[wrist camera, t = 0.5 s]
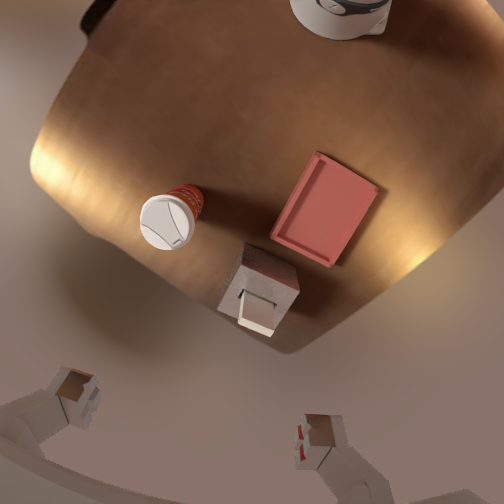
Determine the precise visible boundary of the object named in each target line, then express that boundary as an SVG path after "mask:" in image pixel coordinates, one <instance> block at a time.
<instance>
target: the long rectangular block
mask: <svg viewBox="0 0 504 504" xmlns="http://www.w3.org/2000/svg"><path fill="white" fill-rule="evenodd" d="M238 324H240V325H242V326H245V327H247V328H249V329H252V330H254V331H257V332H259V333H261V334H264V335H266V336H269V337H271V335H272V334H273V332H274V305H273V302H271V301H269V300H267V299H265V298H263V297H260V296H258V295H256V294H254V293H251V292H249V291H247V290H245V289H242V297H241V304H240V312H239V320H238Z"/></svg>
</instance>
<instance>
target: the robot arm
mask: <svg viewBox="0 0 504 504" xmlns="http://www.w3.org/2000/svg"><path fill="white" fill-rule="evenodd" d="M391 2H392V0H290V3H291V7H292V10H293V12H294V14H295V16H296V17H297V19H298V20H299V21H300V22H301V23H302V24H303V25H304V26H305V27H306V28H308V29H309V30H310V31H312V32H314V33H316V34H318V35H320V36H322V37H325V38H329V39H334V40H348V39H353V38H356V37H359V36H362V35H365V34H369V35H380V34H382V33H383V32H384V30H385V27H386V23H387V19H388V15H389V11H390V6H391ZM379 23H381V24H379ZM97 383H98V381H97V377H96V376H94V375H91V374H88V373H85V372H82V371H79V370H77V369H74V368H71V367H68V366H65V365H63V366H61V367H60V368H59V370H58V371H57V373H56V374H55V375H54V377H53V378H52V380H51V381H50V383H49V384H48V385H47V387H46V388H45V390H43V389H40V390H38V391H36V392H33V393H31V394H29V395H26V396H24V397H22V398H20V399H17V400H15V401H12V402H10V403H8V404H5V405H3V406H0V504H185V503H180V502H175V501H170V500H166V499H161V498H157V497H153V496H149V495H145V494H141V493H137V492H134V491H130V490H127V489H124V488H120V487H117V486H114V485H111V484H108V483H105V482H102V481H99V480H96V479H94V478H91V477H88V476H85V475H83V474H80V473H78V472H75V471H73V470H70V469H68V468H65V467H63V466H61V465H58V464H56V463H54V462H52V461H50V460H47V459H45V458H44V457H45V456H44V453H43V451H42V450H41V448H40V446H39V444H40V443H42V442H43V441H45V440H46V439H48V438H49V437H51V436H53V435H54V434H56V433H57V432H59V431H60V430H62V429H63V428H65V427H66V426H68V425H69V424H71V425H74V426H76V427H79V428H82V429H85V430H87V428H88V426H89V424H90V422H91V420H92V415H91V413H92V412H95V411H96V410H97V408H98V406H99V402H100V391H99V389H98V388H97V387H96V385H97ZM294 447H295V449H296V450H297V451H298V452H297V454H296V456H295V462H296V469H297V470H317V473H318V474H319V475H320V477H321V478H322V479H323V481H324V482H325V483H326V485H327V486H328V487H329V488H330V490H331V491H332V492H333V494H334V495H335V496H336V498H337V499H338V500H339V501H338V502H337V503H336V504H394V500H393V496H392V492H391V488H390V485H389V481H388V480H387V479H386V478H385V477H384V476H383V475H382V474H380V473H379V472H378V471H377V470H376V469H375V468H374V467H373V466H372V465H371V464H370V463H369V462H368V461H367V460H366V459H364V458H363V457H362V456H361V455H360V454H359V453H358V452H357V451H356V450H355V449H354V448H353V447H349V444H348V440H347V435H346V431H345V426H344V422H343V418H342V416H340V415H318V414H317V415H316V414H304V415H303V416H302V418H301V425H299V426H298V427H297V429H296V432H295V437H294ZM405 504H489V503H488V502H487V501H485V500H484V499H483V498H481V497H480V496H478V495H477V494H475V493H474V492H472V491H470V490H468V489H462V490H458V491H454V492H451V493H447V494H444V495H441V496H436V497H432V498H428V499H424V500H419V501H415V502H410V503H405Z"/></svg>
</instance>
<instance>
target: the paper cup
mask: <svg viewBox="0 0 504 504" xmlns="http://www.w3.org/2000/svg"><path fill="white" fill-rule="evenodd" d="M203 204H204V198H203V194H202V192H201V191H200V190H199V189H198V188H197V187H195V186H193V185H189V184H185V185H181V186H179V187H177V188H175V189H173V190H171V191H169V192H167V193H166V194H164V195H159V196H155V197H152V198H150V199H149V200H148V201H147V202H146V203H145V204H144V205H143V208H142V212H141V216H140V227H141V231H142V234H143V236H144V237H145V239H146V240H147V241H148V242H149V243H150V244H151V245H153V246H154V247H156V248H159V249H162V250H173V249H178V248H180V247H182V246H184V245H185V244H186V243H187V242H188V241H189V240H190V239H191V237H192V235H193V233H194V228H195V223H196V221H197V219H198V217H199V214H200V212H201V210H202V207H203Z"/></svg>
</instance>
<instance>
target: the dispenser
mask: <svg viewBox="0 0 504 504" xmlns="http://www.w3.org/2000/svg"><path fill="white" fill-rule="evenodd" d="M242 289H245V290H247V291H249V292H251V293H254V294H256V295H258V296H260V297H263V298H265V299H267V300H269V301H271V302H273V305H274V330H275V328H276V327H277V325H278V324H279V322H280V321H281V319H282V318H283V316H284V315H285V313H286V312H287V310H288V309H289V307H290V306H291V304H292V303H293V301H294V300H295V298H296V297H297V295H298V294H299V292H300V290H299V285H298V279H297V274H296V269H295V266H293V265H291V264H288V263H286V262H284V261H282V260H280V259H278V258H276V257H274V256H272V255H270V254H268V253H266V252H264V251H261V250H259V249H257V248H255V247H253V246H251V245H249V244H247V243H244V245H243V247H242V249H241V251H240V252H239V254H238V256H237V258H236V260H235V262H234V264H233V266H232V268H231V269H230V271H229V273H228V275H227V277H226V279H225V281H224V283H223V286H222V290H221V294H220V298H219V303H218V307H217V310H219V311H221V312H223V313H226V314H228V315H230V316H233V317H235V318H237V319H239V312H240V304H241V297H242Z"/></svg>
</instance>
